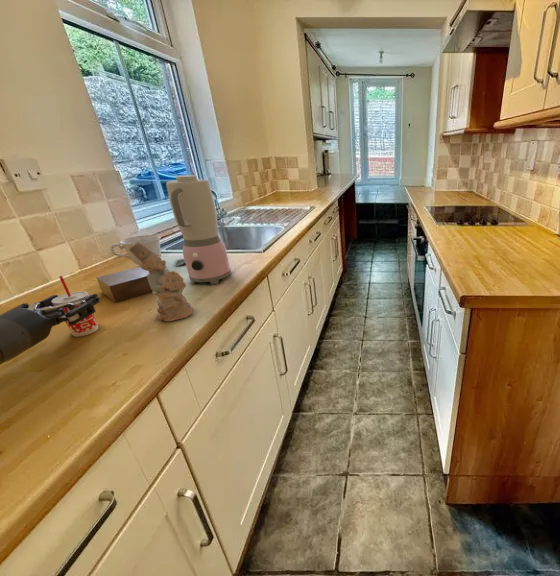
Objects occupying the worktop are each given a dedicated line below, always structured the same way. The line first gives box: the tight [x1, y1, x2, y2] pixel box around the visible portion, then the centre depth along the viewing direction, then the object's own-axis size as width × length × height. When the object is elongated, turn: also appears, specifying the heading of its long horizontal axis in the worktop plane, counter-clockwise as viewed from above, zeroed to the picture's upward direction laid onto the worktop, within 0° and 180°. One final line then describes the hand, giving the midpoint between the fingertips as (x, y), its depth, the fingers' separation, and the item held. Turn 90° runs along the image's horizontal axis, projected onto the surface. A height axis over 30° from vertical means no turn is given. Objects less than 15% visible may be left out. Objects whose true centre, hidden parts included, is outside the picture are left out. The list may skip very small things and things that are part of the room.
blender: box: [165, 174, 232, 286], centre depth 97 cm, size 16×12×32 cm
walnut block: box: [96, 266, 153, 303], centre depth 95 cm, size 11×11×5 cm
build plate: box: [176, 258, 186, 267], centre depth 120 cm, size 12×7×5 cm, turn 117°
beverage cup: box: [51, 275, 99, 337], centre depth 72 cm, size 6×6×14 cm
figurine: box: [129, 242, 194, 322], centre depth 78 cm, size 9×8×20 cm
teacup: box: [109, 234, 162, 268], centre depth 113 cm, size 12×15×10 cm
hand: (77, 298), depth 73 cm, fingers open, 8 cm apart
